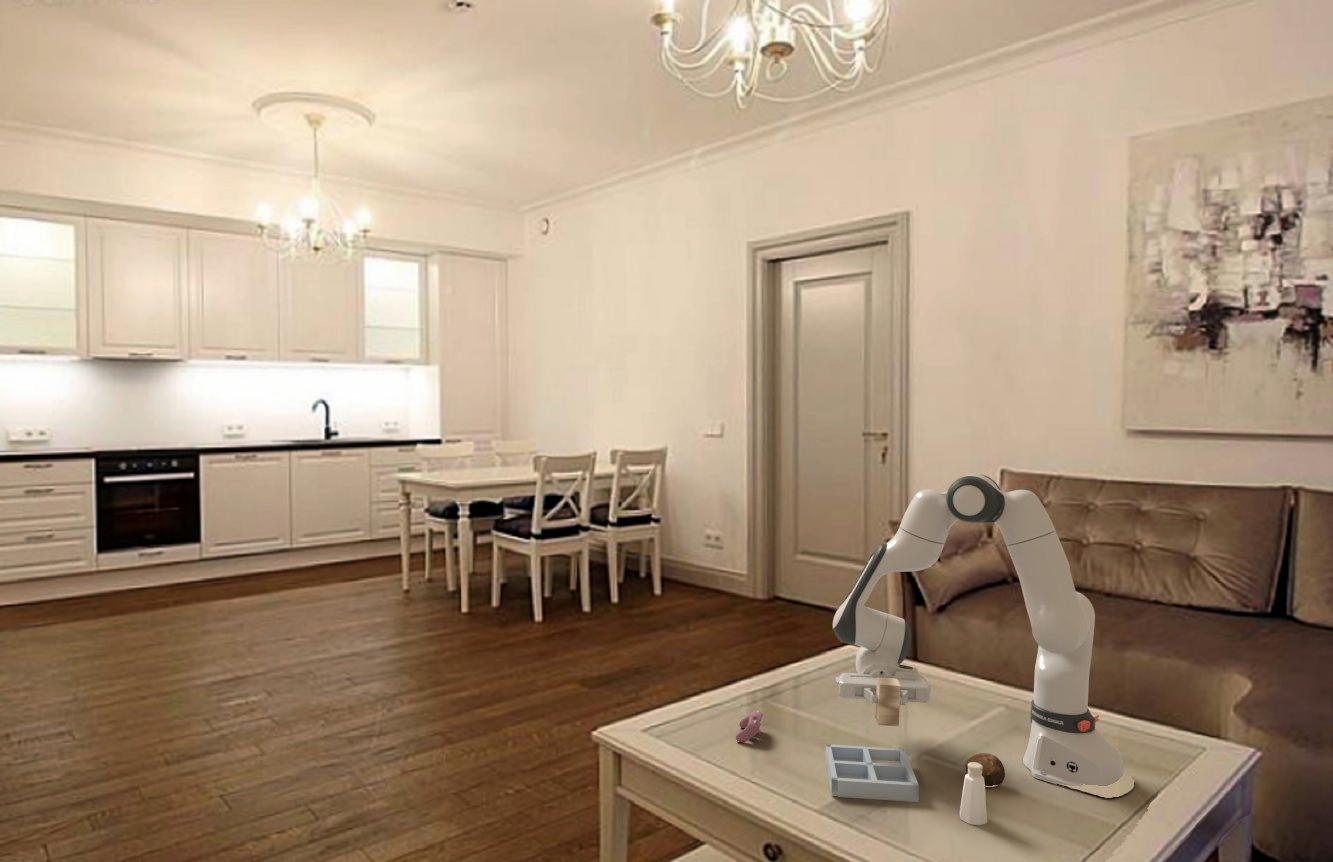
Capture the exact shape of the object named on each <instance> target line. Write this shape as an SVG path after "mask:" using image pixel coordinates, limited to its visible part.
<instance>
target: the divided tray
mask: <svg viewBox="0 0 1333 862" xmlns="http://www.w3.org/2000/svg"><path fill="white" fill-rule="evenodd" d="M824 763H825V768H826V773H827V779H828V784H829V791H830V796H831V797H832V796H838V797H837V798H850V799H851V798H852V799H863V800H864V799H865V800H878V801H879V800H881V801H895V802H909V803H911V802H913V803H919V798H920V797H919V796H920V794H919V793H920V784H919V782H918V780H917V777H916V775H915V772H914V769H913V767H912V765H911V762H910V760H909V757H908V755H907V753H906V750H905V748H893V747H880V746H879V747H878V746H862V745H861V746H859V745H846V744H845V745H844V744H830V743H829V744H827V743H826V744H825V743H824Z"/></svg>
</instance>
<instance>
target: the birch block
mask: <svg viewBox="0 0 1333 862" xmlns="http://www.w3.org/2000/svg"><path fill="white" fill-rule="evenodd" d="M876 693H877V694H878V703H875V714H874V715H875V716H874V717H875V719H876V720H875V721H876V723H877V725H878V726H888V727H889V726H890V727H900V706H901V705H900V684H899V682H898V680H897V679H893V678H877V686H876Z"/></svg>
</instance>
